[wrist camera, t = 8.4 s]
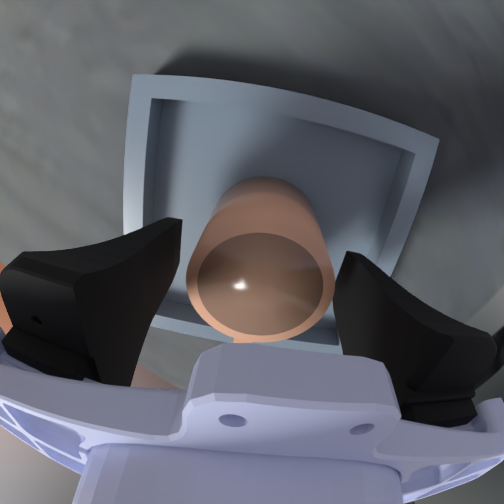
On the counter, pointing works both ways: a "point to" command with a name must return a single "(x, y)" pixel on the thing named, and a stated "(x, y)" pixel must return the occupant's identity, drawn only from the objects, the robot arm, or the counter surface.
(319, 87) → the counter surface
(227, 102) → the tray
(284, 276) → the terracotta cup
